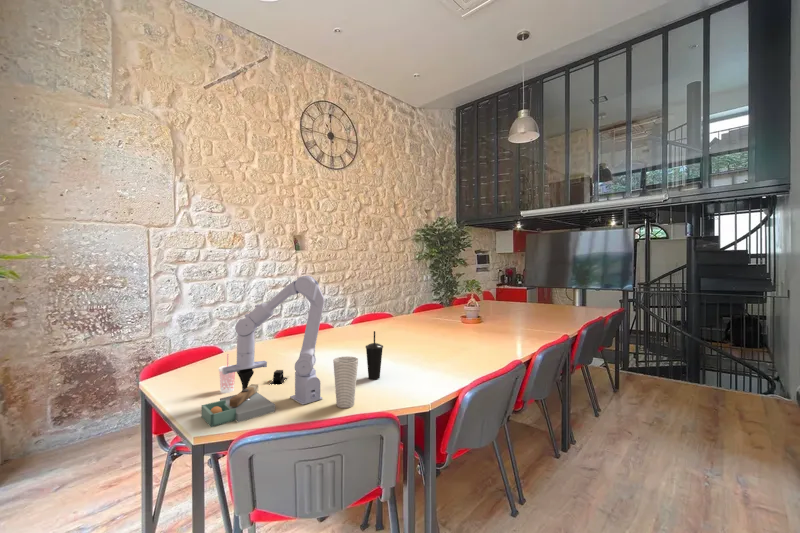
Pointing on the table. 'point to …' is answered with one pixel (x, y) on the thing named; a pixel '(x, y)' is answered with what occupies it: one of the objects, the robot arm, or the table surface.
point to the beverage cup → (226, 380)
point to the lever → (243, 395)
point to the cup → (345, 380)
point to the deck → (251, 407)
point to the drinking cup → (374, 359)
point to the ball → (216, 409)
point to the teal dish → (220, 417)
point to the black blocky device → (278, 377)
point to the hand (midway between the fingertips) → (244, 390)
